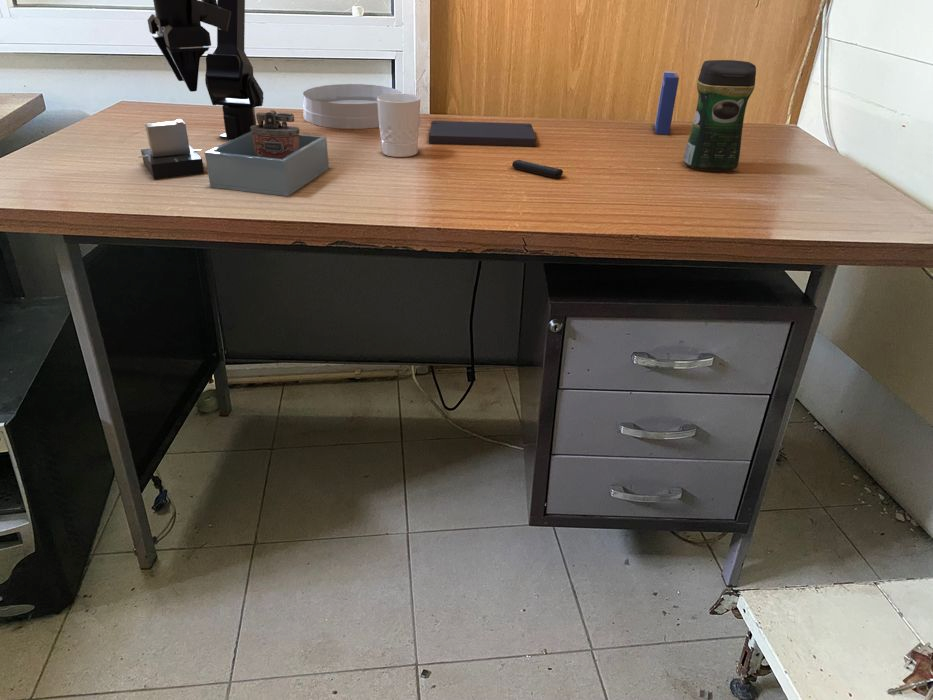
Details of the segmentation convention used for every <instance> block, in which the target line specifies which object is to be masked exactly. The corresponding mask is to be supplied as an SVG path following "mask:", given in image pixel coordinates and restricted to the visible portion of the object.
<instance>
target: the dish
mask: <svg viewBox="0 0 933 700" xmlns="http://www.w3.org/2000/svg"><path fill="white" fill-rule="evenodd" d="M392 93H403V92H402V91H401V90H398V89H396V88H393V87H388V86H384V85H376V84H365V83H364V84H363V83H342V84H341V83H339V84H328V85H327V84H326V85H320V86H315V87H311V88H308V89H306V90H304V91H303V92H302V100H303V106H302V112H303V119H304V120H305V121H306V122H308V123H310V124H312V125H315V126H319V127H324V128H331V129H342V130H343V129H344V130H365V129H376V128H379V117H378V103H377V97H378V96H380V95H384V94H392Z"/></svg>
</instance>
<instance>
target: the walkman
mask: <svg viewBox="0 0 933 700" xmlns="http://www.w3.org/2000/svg"><path fill="white" fill-rule="evenodd" d="M679 81H680V76H679V73H678V72H677V71H669V70H663V74H662V80H661V86H660V92H659V97H658V103H657V109H656V116H655V122H654V130H655V135H665V136H666V135H667V136H669V135H670V133H671V127H672V120H673V114H674V109H675V103H676V98H677V92H678V87H679Z"/></svg>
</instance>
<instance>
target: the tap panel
mask: <svg viewBox="0 0 933 700" xmlns="http://www.w3.org/2000/svg"><path fill="white" fill-rule="evenodd" d="M189 147H190V153H189V154H180V155H170V156H161V157H153V156H152V154H151V152H150V148H142V149H140V153H141V155H138V158H139V159H140V158H142V162H143V165H144V166H145V168H146V169H147V171H148V172H149V174H150V175H151V177H152V179H153V180H162V179H170V178H171V179H172V178H178V177H187V176H194V175H195V176H196V175H202V174H205V168H204V164H203V159H202V157H201V156H200V155H199V154H198V153H197V152H202V151H203V149H193V147H192V146H191V145H190V144H189Z"/></svg>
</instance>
